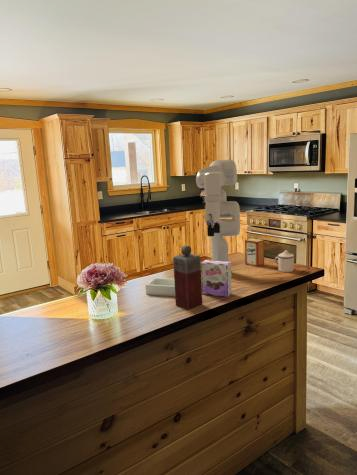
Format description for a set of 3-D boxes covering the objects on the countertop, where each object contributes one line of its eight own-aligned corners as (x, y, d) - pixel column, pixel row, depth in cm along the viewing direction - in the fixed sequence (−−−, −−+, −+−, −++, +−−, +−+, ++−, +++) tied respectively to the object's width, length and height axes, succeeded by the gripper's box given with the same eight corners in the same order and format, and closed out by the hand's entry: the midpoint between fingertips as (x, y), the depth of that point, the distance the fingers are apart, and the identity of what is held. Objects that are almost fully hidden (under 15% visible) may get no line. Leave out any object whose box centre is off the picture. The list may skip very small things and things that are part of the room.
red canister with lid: (186, 298, 182) (183, 242, 177) (202, 304, 174) (200, 245, 168) (172, 304, 177) (168, 245, 171) (188, 310, 168) (185, 249, 163)
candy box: (201, 294, 188) (200, 262, 184) (206, 290, 193) (205, 259, 189) (228, 297, 181) (227, 264, 178) (232, 293, 186) (231, 261, 183)
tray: (155, 286, 203) (154, 277, 202) (190, 288, 196) (190, 279, 195) (146, 294, 192) (145, 284, 191) (183, 296, 185) (183, 287, 184)
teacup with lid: (297, 269, 219) (297, 250, 217) (288, 273, 213) (288, 253, 211) (279, 266, 228) (279, 247, 226) (270, 269, 222) (270, 250, 220)
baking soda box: (245, 264, 237) (244, 239, 233) (251, 262, 241) (251, 237, 238) (257, 267, 229) (257, 241, 226) (264, 264, 234) (264, 239, 231)
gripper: (210, 197, 188) (211, 231, 191) (199, 200, 173) (200, 237, 175) (225, 197, 186) (226, 231, 188) (215, 200, 170) (216, 237, 173)
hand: (213, 234), depth 182 cm, fingers open, 9 cm apart
